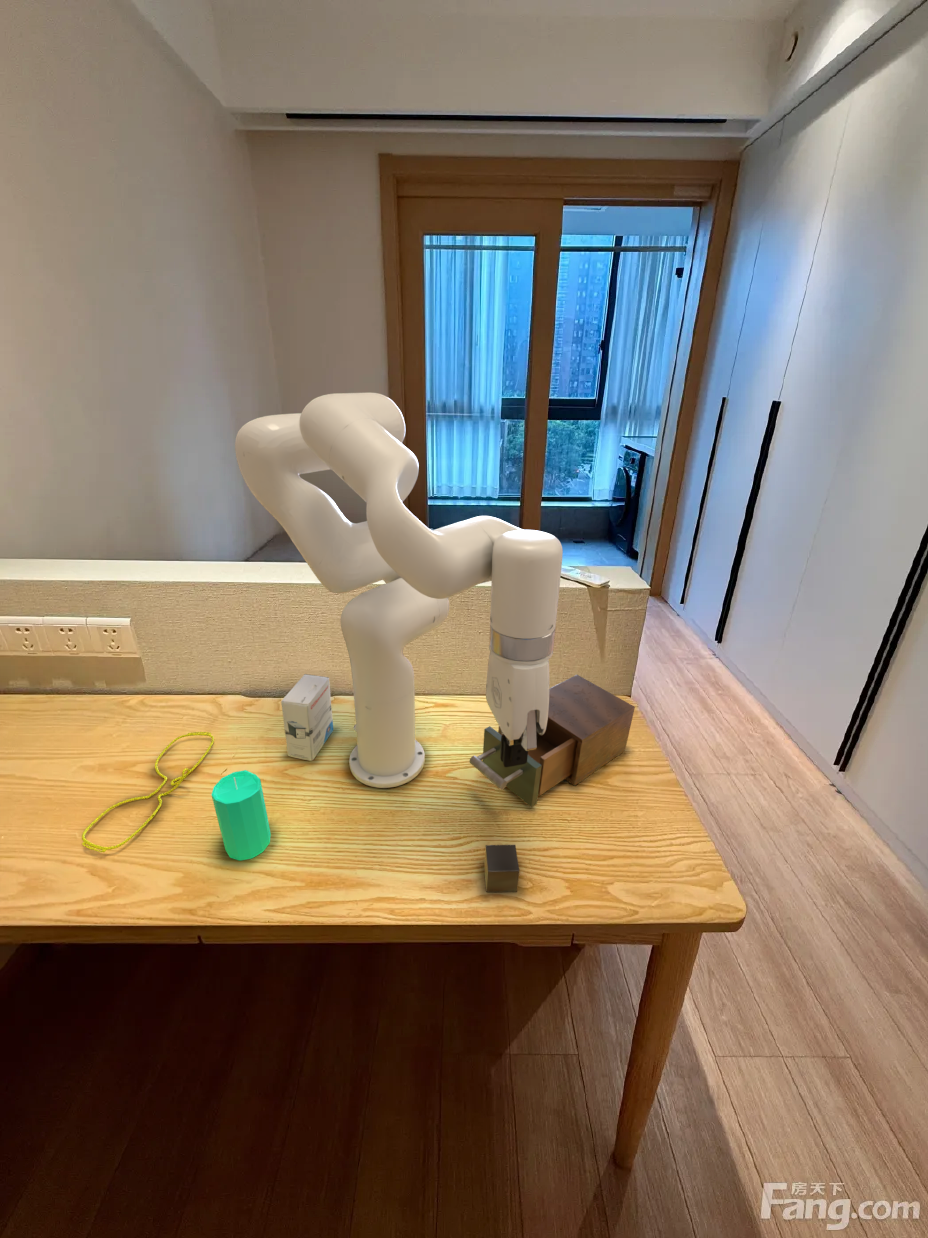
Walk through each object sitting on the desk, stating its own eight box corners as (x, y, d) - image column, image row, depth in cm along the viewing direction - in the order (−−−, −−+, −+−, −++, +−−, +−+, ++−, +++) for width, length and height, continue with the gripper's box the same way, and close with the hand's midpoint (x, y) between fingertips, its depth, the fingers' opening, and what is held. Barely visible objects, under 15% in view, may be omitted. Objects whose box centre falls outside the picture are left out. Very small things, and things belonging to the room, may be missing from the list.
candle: (244, 868, 69) (228, 802, 63) (216, 847, 71) (198, 782, 66) (280, 837, 73) (268, 773, 68) (252, 818, 76) (239, 755, 70)
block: (486, 892, 67) (487, 871, 65) (483, 865, 70) (485, 844, 68) (517, 891, 67) (519, 871, 65) (513, 864, 70) (515, 844, 69)
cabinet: (574, 786, 84) (582, 739, 79) (519, 745, 92) (524, 701, 88) (625, 750, 92) (635, 706, 88) (570, 715, 100) (577, 674, 96)
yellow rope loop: (183, 734, 92) (177, 712, 90) (235, 740, 91) (230, 719, 89) (68, 852, 70) (57, 827, 68) (135, 862, 69) (126, 837, 67)
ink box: (310, 726, 95) (303, 672, 90) (336, 730, 94) (330, 676, 89) (287, 757, 88) (278, 700, 82) (314, 762, 87) (307, 705, 82)
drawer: (508, 823, 75) (512, 784, 72) (459, 779, 83) (460, 741, 80) (585, 770, 86) (592, 733, 82) (535, 735, 94) (539, 700, 90)
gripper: (473, 615, 65) (470, 731, 73) (513, 676, 52) (504, 809, 60) (528, 609, 67) (520, 723, 75) (580, 666, 54) (563, 797, 62)
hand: (513, 761), depth 68 cm, fingers closed
